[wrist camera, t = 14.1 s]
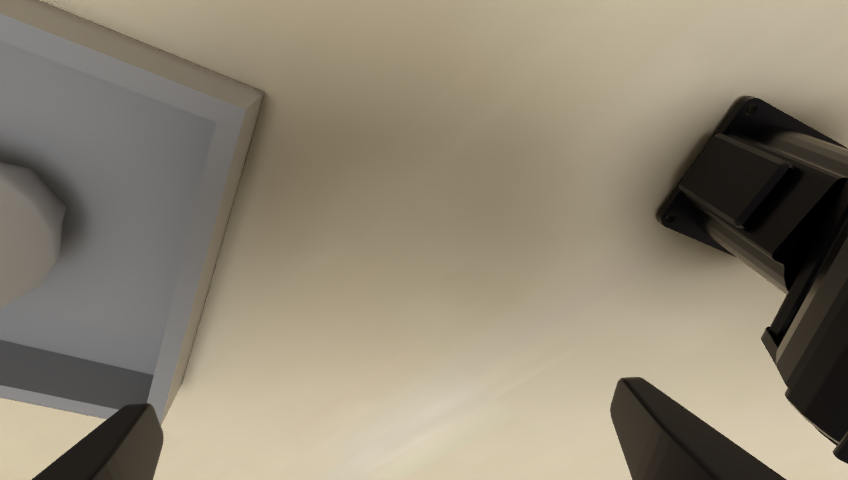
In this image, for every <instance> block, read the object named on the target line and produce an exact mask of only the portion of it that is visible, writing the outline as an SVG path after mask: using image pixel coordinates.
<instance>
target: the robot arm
mask: <svg viewBox="0 0 848 480" xmlns="http://www.w3.org/2000/svg"><path fill="white" fill-rule="evenodd" d="M749 105H751V108H750V110H749V111H748V112H747V113H746V109H747V107H748V106H749ZM670 213H672V215H671V216H670V217H669V218H667V219H666V217H667V216H668V215H669V214H670ZM657 220H658V221H659V222H660V223H661V224H662V225H664V226H665V227H667V228H670V229H672V230H674V231H677V232H679V233H682V234H684V235H686V236H689V237H691V238H693V239H696V240H698V241H700V242H703V243H705V244H707V245H710V246H712V247H714V248H717V249H719V250H721V251H724V252H726V253H728V254H731V255H733V256H735V257H737V258H739V259H740V260H741V261H743V262H744V263H745V264H747V265H748V266H749V267H751V268H752V269H753V270H755V271H756V272H757V273H759V274H760V275H761V276H763V277H764V278H765V279H767V280H768V281H769V282H771V283H772V284H773V285H775V286H776V287H777V288H779V289H780V290H781V291H783V292H784V293H785V294H787V296H786V297H785V299H784V301H783V303H782V305H781V307H780V309H779V311H778V313H777V315H776V317H775V319H774V320H773V322H772V324H771V326H770V327H767V328H766V329H765V331H764V333H763V335H762V337H761V340H762V342H763V343H764V345H765V347H766V349H767V350H768V352H769V354H770V356H771V357H772V359H773V361H774V363H775V364H776V366H777V368H778V370H779V372H780V374H781V376H782V378H783V380H784V382H785V384H786V385H787V387H788V388H787V390H786V392H785V396H786V398H787V399H788V401H789V402H790V403H791V404H792V405H793V407H794V408H795V409H796V410H797V411H798V412H799V413H800V414H801V415H802V416H803V417H804V418H805V419H806V420H807V421H809V422H810V423H811V424H812V425H813V426H814V427H815V428H816V429H817V430H818V431H819V432H820V433H821V434H823V435H824V436H825V437H826V438H828V439H829V440H830V441H831V442H833V443H834V444H835V445H837V446H836V448H835V449H834V451H833V454H834V455H835V456H836V457H837V458H838V459H839V460H841V461H843V462H845V463H847V464H848V149H847V147H845V146H843V145H841V144H839V143H838V142H836V141H834V140H832V139H830V138H829V137H827V136H825V135H823V134H822V133H820V132H818V131H816V130H814V129H813V128H811V127H809V126H807V125H805V124H804V123H802V122H800V121H798V120H797V119H795V118H793V117H791V116H789V115H788V114H786V113H784V112H782V111H780V110H779V109H777V108H775V107H773V106H772V105H770V104H768V103H766V102H764V101H763V100H761V99H758V98H755V97H751V96H746V97H744V98H742V99H740V100H739V101H738V102H737V103H736V105H735V106H734V108H733V109H732V110H731V112H730V113H729V114H728V116H727V117H726V119H725V120H724V121H723V123H722V124H721V125H720V127H719V128H718V130H717V131H716V132H715V134H714V135H713V136H712V138H711V139H710V141H709V142H708V143H707V145H706V146H705V148H704V149H703V150H702V152H701V153H700V154H699V156H698V157H697V159H696V160H695V161H694V163H693V164H692V165H691V167H690V168H689V170H688V171H687V172H686V174H685V175H684V177H683V178H682V179H681V181H680V182H679V183H678V185H677V186H676V188H675V189H674V190H673V192H672V193H671V194H670V196H669V197H668V199H667V200H666V201H665V203H664V204H663V206H662V207H661V208H660V210H659V211H658V213H657ZM610 412H611V418H612V421H613V424H614V427H615V430H616V433H617V436H618V439H619V442H620V445H621V447H622V450H623V453H624V456H625V459H626V462H627V465H628V468H629V471H630V474H631V477H632V480H786V479H785V478H783V477H782V476H780V475H779V474H778V473H776V472H775V471H773V470H772V469H770V468H769V467H768V466H766V465H765V464H763V463H762V462H761V461H759V460H758V459H756V458H755V457H753V456H752V455H751V454H749V453H748V452H746V451H745V450H744V449H742V448H741V447H739V446H738V445H736V444H735V443H734V442H732V441H731V440H729V439H728V438H727V437H725V436H724V435H722V434H721V433H720V432H718V431H717V430H715V429H714V428H712V427H711V426H710V425H708V424H707V423H705V422H704V421H703V420H701V419H700V418H698V417H697V416H695V415H694V414H693V413H691V412H690V411H688V410H687V409H686V408H684V407H683V406H681V405H680V404H678V403H677V402H676V401H674V400H673V399H671V398H670V397H669V396H667V395H666V394H664V393H663V392H662V391H660V390H659V389H657V388H656V387H654V386H653V385H652V384H650V383H649V382H647V381H646V380H644V379H643V378H640V377H627V378H621V379H620V380H619V381H618V383H617V386H616V389H615V393H614V396H613V400H612V403H611V408H610ZM162 445H163V431H162V428H161V425H160V423H159V420H158V417H157V414H156V412H155V409H154V407H153V405H151V404H150V403H135V404H127V405H125V406H123V407H122V408H121V409H119V410H118V411H117V412H116V413H114V414H113V415H112V416H111V417H109V418H108V419H107V420H106V421H104V422H103V423H102V424H101V425H99V426H98V427H97V428H96V429H94V430H93V431H92V432H91V433H89V434H88V435H87V436H86V437H84V438H83V439H82V440H81V441H79V442H78V443H77V444H76V445H74V446H73V447H72V448H71V449H69V450H68V451H67V452H66V453H64V454H63V455H62V456H61V457H59V458H58V459H57V460H56V461H54V462H53V463H52V464H51V465H49V466H48V467H47V468H46V469H44V470H43V471H42V472H41V473H39V474H38V475H37V476H36V477H34V478H33V479H32V480H153V477H154V474H155V470H156V467H157V463H158V460H159V456H160V453H161V449H162Z"/></svg>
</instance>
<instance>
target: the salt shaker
mask: <svg viewBox="0 0 848 480" xmlns="http://www.w3.org/2000/svg"><path fill="white" fill-rule="evenodd" d="M65 211H66V206H65V204H64V203H63V202H62V201H61V200H60V199H59V198H58V197H57V195H56V194H55V193H54V192H53V191H52V190H51V189H50V188H49V187H48V185H47V184H46V183H45V182H44V181H43V180H42V179H41V178H40V176H39V175H38V174H37V173H36V172H35V171H34V170H33V169H32V168H27V167H22V166H17V165H13V164H8V163H3V162H0V308H2V307H4V306H5V305H7V304H9V303H11V302H12V301H14V300H16V299H18V298H19V297H21V296H23V295H25V294H26V293H28V292H30V291H32V290H33V289H35V288H37V287H39V286H40V285H41V283H42V282H43V281H44V280H45V278H46V277H47V275H48V274H49V272H50V271H51V269H52V267H53V266H54V264H55V263H56V261H57V260H58V258H59V256H60V248H61V235H62V224H63V219H64V215H65Z"/></svg>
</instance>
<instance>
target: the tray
mask: <svg viewBox="0 0 848 480" xmlns="http://www.w3.org/2000/svg"><path fill="white" fill-rule="evenodd" d="M263 96H264V92H263V91H260V90H258V89H255V88H253V87H250V86H248V85H246V84H243V83H241V82H238V81H236V80H233V79H231V78H228V77H226V76H223V75H221V74H218V73H216V72H214V71H211V70H209V69H206V68H204V67H201V66H199V65H196V64H194V63H191V62H189V61H186V60H184V59H182V58H179V57H177V56H174V55H172V54H169V53H167V52H164V51H162V50H159V49H157V48H154V47H152V46H149V45H147V44H145V43H142V42H140V41H137V40H135V39H132V38H130V37H127V36H125V35H122V34H120V33H117V32H115V31H113V30H110V29H108V28H105V27H103V26H100V25H98V24H95V23H93V22H90V21H88V20H85V19H83V18H81V17H78V16H76V15H73V14H71V13H68V12H66V11H63V10H61V9H58V8H56V7H53V6H51V5H49V4H46V3H44V2H41V1H39V0H0V162H3V163H8V164H13V165H17V166H22V167H27V168H32V169H33V170H34V171H35V172H36V173H37V174H38V175H39V176H40V178H41V179H42V180H43V181H44V182H45V183H46V184H47V185H48V187H49V188H50V189H51V190H52V191H53V192H54V193H55V194H56V195H57V197H58V198H59V199H60V200H61V201H62V202H63V203H64V204H65V206H66V211H65V215H64V219H63V224H62V235H61V248H60V256H59V258H58V260H57V261H56V263H55V264H54V266H53V267H52V269H51V271H50V272H49V274H48V275H47V277H46V278H45V280H44V281H43V282H42V283H41V285H40V286H39V287H37V288H35V289H33V290H32V291H30V292H28V293H26V294H25V295H23V296H21V297H19V298H18V299H16V300H14V301H12V302H11V303H9V304H7V305H5V306H4V307H2V308H0V398H5V399H10V400H15V401H20V402H25V403H30V404H34V405H39V406H44V407H49V408H54V409H59V410H64V411H69V412H74V413H79V414H84V415H89V416H94V417H99V418H104V419H108V418H109V417H111V416H112V415H113V414H114V413H116V412H117V411H118V410H119V409H121V408H122V407H123V406H125V405H127V404H135V403H150V404H151V405H153V407H154V409H155V412H156V414H157V417H158V420H159V423H160V425H161V424H162V422H163V420H164V418H165V416H166V414H167V412H168V410H169V408H170V406H171V404H172V402H173V400H174V398H175V396H176V394H177V392H178V390H179V388H180V386H181V384H182V381H183V377H184V374H185V370H186V367H187V363H188V360H189V356H190V353H191V349H192V346H193V342H194V339H195V335H196V332H197V328H198V325H199V321H200V318H201V314H202V311H203V307H204V304H205V300H206V297H207V293H208V290H209V286H210V282H211V279H212V275H213V272H214V268H215V265H216V261H217V258H218V254H219V251H220V247H221V244H222V240H223V237H224V233H225V230H226V226H227V223H228V219H229V216H230V212H231V209H232V205H233V202H234V198H235V195H236V191H237V187H238V184H239V180H240V177H241V173H242V170H243V166H244V163H245V159H246V156H247V152H248V149H249V145H250V142H251V138H252V135H253V131H254V128H255V124H256V121H257V117H258V114H259V110H260V107H261V103H262V100H263Z"/></svg>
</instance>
